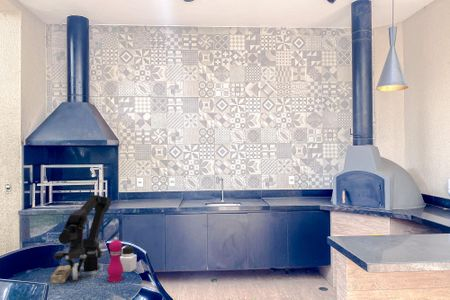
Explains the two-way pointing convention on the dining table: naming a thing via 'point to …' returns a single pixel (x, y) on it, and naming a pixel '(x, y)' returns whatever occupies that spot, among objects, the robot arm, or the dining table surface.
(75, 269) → the clip
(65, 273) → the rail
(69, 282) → the dining table surface
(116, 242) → the pepper mill
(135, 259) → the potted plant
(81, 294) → the dining table surface
